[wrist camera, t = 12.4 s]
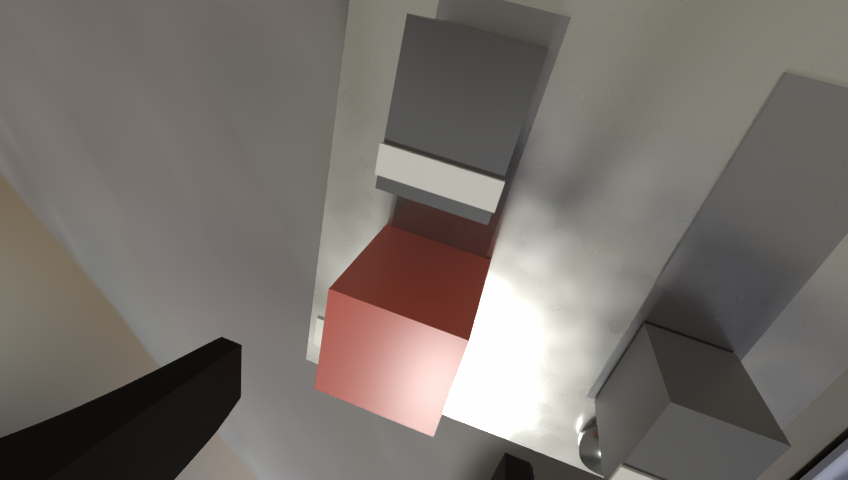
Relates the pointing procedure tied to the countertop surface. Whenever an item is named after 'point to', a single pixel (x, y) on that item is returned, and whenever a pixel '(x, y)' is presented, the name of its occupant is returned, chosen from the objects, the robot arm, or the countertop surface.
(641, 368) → the breaker
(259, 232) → the countertop surface
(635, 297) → the breaker panel
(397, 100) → the block
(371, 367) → the red cube
